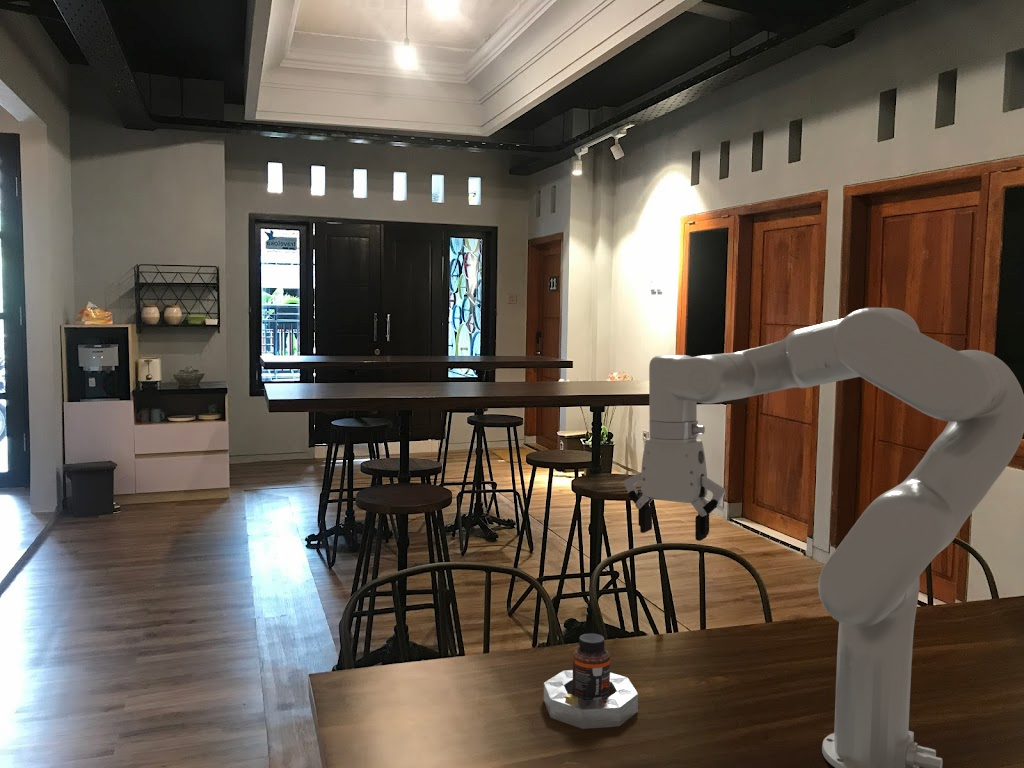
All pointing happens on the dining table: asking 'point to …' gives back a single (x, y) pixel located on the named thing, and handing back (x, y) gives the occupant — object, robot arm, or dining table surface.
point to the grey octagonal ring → (590, 702)
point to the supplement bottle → (591, 668)
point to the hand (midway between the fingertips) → (673, 534)
